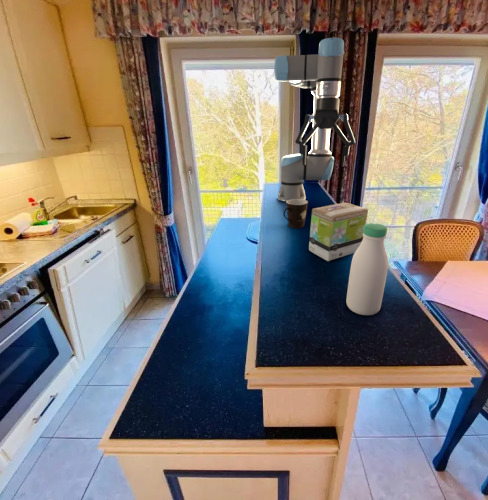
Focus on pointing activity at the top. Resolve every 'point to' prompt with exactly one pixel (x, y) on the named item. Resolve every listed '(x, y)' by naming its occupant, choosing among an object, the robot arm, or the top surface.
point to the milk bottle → (368, 272)
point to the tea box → (336, 230)
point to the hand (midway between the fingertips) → (323, 165)
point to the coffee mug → (296, 212)
